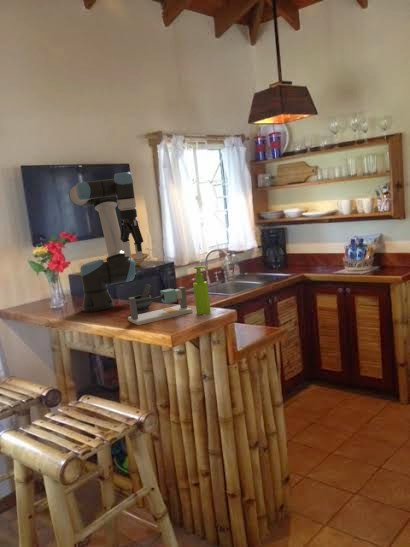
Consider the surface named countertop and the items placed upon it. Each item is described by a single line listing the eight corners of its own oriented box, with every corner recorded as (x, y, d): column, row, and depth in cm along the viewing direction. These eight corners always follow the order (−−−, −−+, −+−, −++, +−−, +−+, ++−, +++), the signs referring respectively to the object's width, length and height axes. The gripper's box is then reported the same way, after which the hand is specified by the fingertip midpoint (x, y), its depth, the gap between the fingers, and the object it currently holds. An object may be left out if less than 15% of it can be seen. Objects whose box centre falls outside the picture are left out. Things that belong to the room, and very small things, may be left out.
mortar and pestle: (139, 315, 222) (135, 289, 220) (127, 313, 229) (124, 287, 227) (159, 309, 229) (156, 283, 227) (148, 307, 236) (144, 282, 235)
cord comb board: (128, 320, 216) (124, 296, 214) (180, 308, 227) (177, 285, 225) (138, 325, 205) (134, 300, 203) (192, 312, 216) (189, 288, 214)
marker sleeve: (161, 301, 218) (160, 290, 218) (172, 299, 221) (170, 288, 220) (166, 303, 214) (164, 292, 213) (176, 301, 216) (175, 289, 215)
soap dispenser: (210, 314, 208) (204, 267, 205) (194, 315, 211) (188, 268, 208) (214, 310, 214) (209, 264, 211) (199, 311, 216) (194, 265, 213)
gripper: (109, 210, 225) (115, 256, 229) (130, 210, 203) (136, 261, 207) (124, 208, 228) (131, 253, 232) (146, 208, 207) (153, 258, 211)
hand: (133, 257), depth 220 cm, fingers open, 13 cm apart
